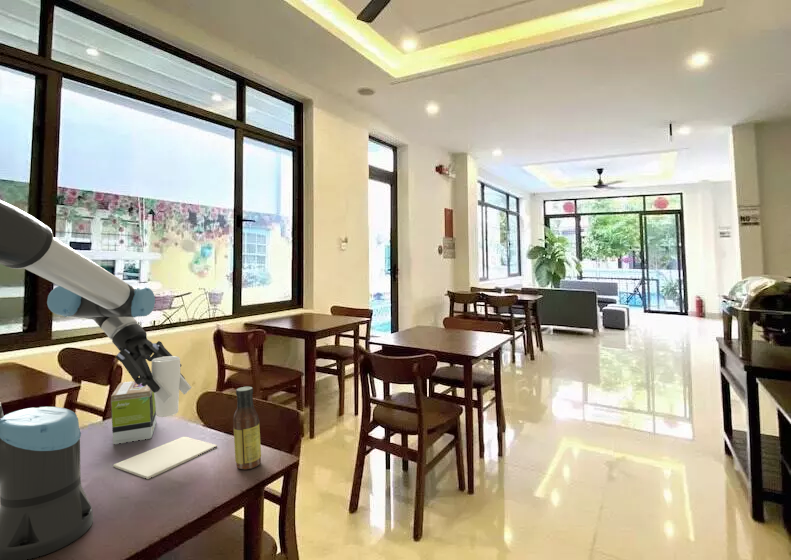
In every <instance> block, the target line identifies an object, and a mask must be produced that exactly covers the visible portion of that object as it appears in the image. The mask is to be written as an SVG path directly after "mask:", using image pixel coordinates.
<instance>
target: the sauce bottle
mask: <svg viewBox="0 0 791 560" xmlns="http://www.w3.org/2000/svg"><path fill="white" fill-rule="evenodd" d="M253 393H254V388H253V387H252V386H243V387H242V386H241V387H238V388H236V390H235V395H236V401H237V404H236V407H237V408H236V409H235V412H234V414H233V419H232V420H233V440H234V458H235V459H234V461H235V465H236V467H237V469H239V470H245V471H247V470H251V469H255V468H257V467H258V466H260V464H261V462H262V460H261V457H262V450H261V449H262V448H261V433H260V432H261V430H260V418H259V415H258V414H259V413H258V412H257V411H256V408H255V406H254V399H253V398H254V397H253Z"/></svg>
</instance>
